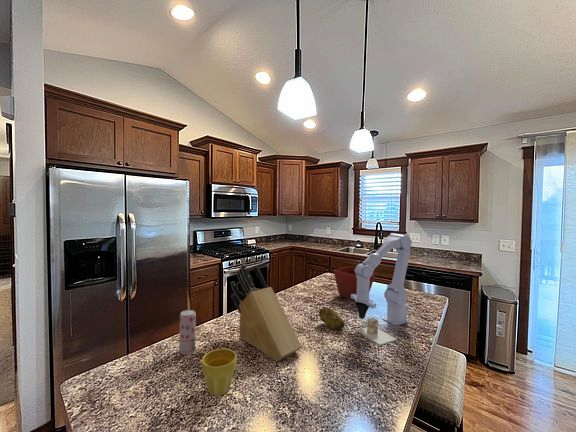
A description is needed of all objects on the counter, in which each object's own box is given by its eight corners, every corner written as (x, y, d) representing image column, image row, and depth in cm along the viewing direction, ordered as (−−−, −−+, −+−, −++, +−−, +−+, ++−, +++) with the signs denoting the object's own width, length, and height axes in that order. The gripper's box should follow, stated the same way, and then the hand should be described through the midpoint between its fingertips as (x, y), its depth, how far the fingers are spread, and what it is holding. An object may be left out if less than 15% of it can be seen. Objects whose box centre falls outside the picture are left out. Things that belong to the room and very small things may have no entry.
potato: (332, 334, 116) (332, 316, 116) (316, 322, 128) (316, 306, 127) (346, 330, 120) (347, 313, 120) (329, 319, 132) (330, 303, 131)
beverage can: (179, 348, 102) (180, 310, 101) (195, 345, 104) (195, 308, 103) (179, 356, 96) (179, 316, 96) (195, 353, 98) (196, 314, 98)
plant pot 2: (349, 289, 180) (350, 265, 180) (374, 297, 166) (375, 271, 166) (332, 295, 167) (333, 269, 167) (358, 304, 153) (359, 276, 153)
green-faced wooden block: (373, 330, 119) (373, 317, 119) (377, 332, 117) (378, 319, 117) (366, 332, 117) (367, 318, 117) (371, 334, 115) (371, 321, 115)
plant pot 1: (205, 377, 85) (206, 348, 84) (237, 376, 86) (238, 347, 85) (197, 401, 74) (197, 367, 74) (234, 399, 75) (234, 366, 75)
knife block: (248, 323, 125) (249, 259, 124) (302, 354, 100) (304, 274, 99) (227, 331, 117) (228, 262, 116) (281, 366, 92) (283, 279, 91)
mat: (372, 326, 124) (372, 325, 124) (396, 340, 112) (396, 339, 112) (356, 331, 120) (356, 329, 120) (379, 345, 107) (379, 344, 107)
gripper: (346, 286, 128) (345, 313, 128) (367, 295, 115) (366, 325, 115) (357, 284, 131) (356, 311, 131) (379, 293, 118) (378, 323, 118)
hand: (362, 318), depth 123 cm, fingers closed
